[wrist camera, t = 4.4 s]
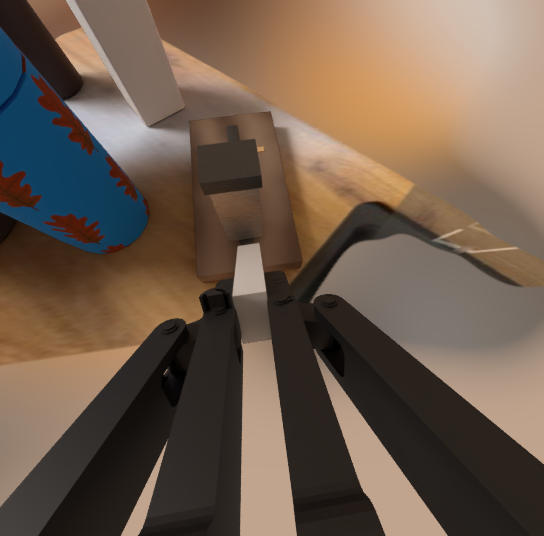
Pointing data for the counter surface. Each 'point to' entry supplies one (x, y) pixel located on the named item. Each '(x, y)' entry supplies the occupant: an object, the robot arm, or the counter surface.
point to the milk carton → (132, 54)
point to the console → (273, 197)
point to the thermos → (59, 166)
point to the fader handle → (233, 185)
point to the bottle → (39, 46)
